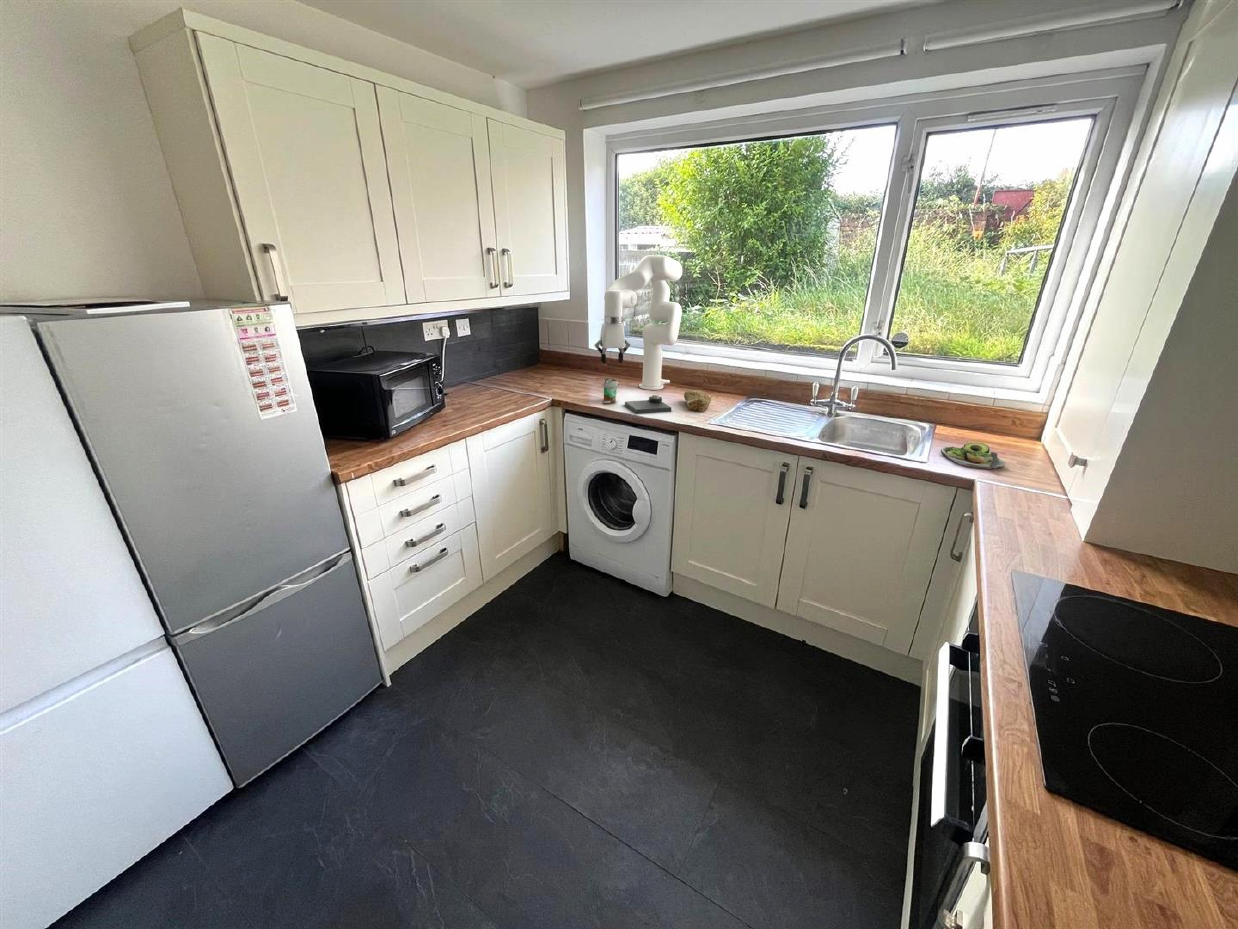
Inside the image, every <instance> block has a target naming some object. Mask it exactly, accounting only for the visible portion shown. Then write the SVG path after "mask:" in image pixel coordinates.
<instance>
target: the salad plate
mask: <svg viewBox="0 0 1238 929" xmlns="http://www.w3.org/2000/svg"><path fill="white" fill-rule="evenodd" d="M990 450H991V448H990V446H988V444H986V443H982V442H967V443H965V444H963V446H962V447H955V446H942V447H941V448H940V452H941V454H942V455H943V456H944V457H946V458H947V459H948V460H950V461H951V462H954V463H956V464H957V465H961V466H964V467H968V468H973V469H984V470H992V469H997V468H1001V467H1004V466H1006V464H1007V463H1006V462H1005V461H1004V460H1002V459H1000V458H999V457H998V453H997V452H995V451H991V452H990Z"/></svg>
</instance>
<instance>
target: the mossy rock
mask: <svg viewBox="0 0 1238 929" xmlns="http://www.w3.org/2000/svg"><path fill="white" fill-rule="evenodd" d="M683 398H684V400H685V402H686V406H687V408H688V409H690V410H692V411H697V412H698V411H699V412H704V411H706V410H707V409H708V408H709V407H710V405H711V402H712V397H711V396H710V395H709V394H708V393H707V392H706V391H703V390H701V389H692V390H686V391H684V394H683Z"/></svg>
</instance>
